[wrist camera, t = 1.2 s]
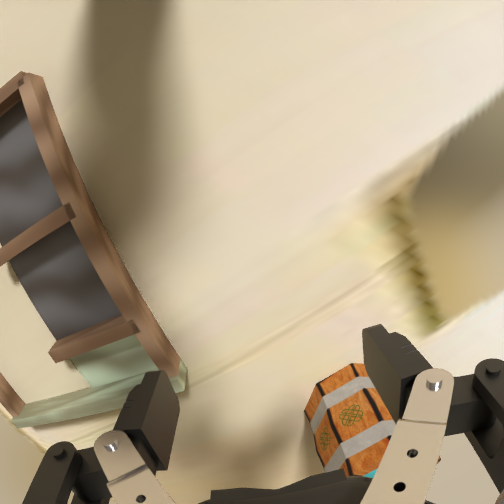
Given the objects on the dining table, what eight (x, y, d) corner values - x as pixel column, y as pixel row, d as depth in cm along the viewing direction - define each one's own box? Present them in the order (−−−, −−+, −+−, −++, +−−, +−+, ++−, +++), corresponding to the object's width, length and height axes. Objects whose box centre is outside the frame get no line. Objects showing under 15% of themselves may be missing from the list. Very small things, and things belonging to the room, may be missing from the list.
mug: (299, 376, 38) (331, 472, 24) (398, 349, 38) (455, 425, 24) (309, 459, 44) (329, 533, 30) (386, 436, 44) (419, 502, 30)
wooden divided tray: (-90, 207, 26) (-107, 213, 22) (40, 71, 24) (21, 64, 20) (26, 412, 38) (17, 428, 34) (187, 368, 36) (184, 390, 32)
